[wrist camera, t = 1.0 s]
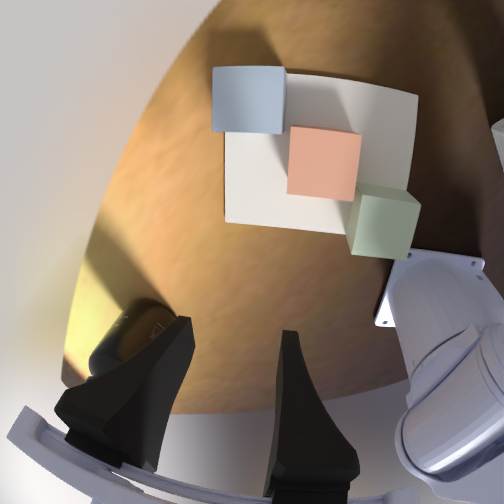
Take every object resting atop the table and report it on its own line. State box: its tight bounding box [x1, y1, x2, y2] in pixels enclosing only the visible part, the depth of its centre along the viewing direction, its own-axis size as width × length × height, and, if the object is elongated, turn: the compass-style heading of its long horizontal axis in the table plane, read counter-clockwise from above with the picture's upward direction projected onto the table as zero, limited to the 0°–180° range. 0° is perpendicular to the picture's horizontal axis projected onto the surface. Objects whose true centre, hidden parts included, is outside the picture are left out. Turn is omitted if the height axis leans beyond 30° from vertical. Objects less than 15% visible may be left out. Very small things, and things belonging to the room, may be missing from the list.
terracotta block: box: [287, 124, 362, 202], centre depth 16 cm, size 4×4×3 cm
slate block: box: [212, 66, 287, 134], centre depth 15 cm, size 4×4×3 cm
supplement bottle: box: [85, 299, 176, 383], centre depth 24 cm, size 7×7×12 cm
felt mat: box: [225, 74, 418, 235], centre depth 18 cm, size 13×11×1 cm
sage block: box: [346, 182, 421, 261], centre depth 17 cm, size 4×4×3 cm
